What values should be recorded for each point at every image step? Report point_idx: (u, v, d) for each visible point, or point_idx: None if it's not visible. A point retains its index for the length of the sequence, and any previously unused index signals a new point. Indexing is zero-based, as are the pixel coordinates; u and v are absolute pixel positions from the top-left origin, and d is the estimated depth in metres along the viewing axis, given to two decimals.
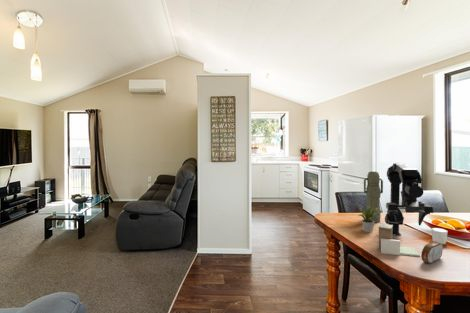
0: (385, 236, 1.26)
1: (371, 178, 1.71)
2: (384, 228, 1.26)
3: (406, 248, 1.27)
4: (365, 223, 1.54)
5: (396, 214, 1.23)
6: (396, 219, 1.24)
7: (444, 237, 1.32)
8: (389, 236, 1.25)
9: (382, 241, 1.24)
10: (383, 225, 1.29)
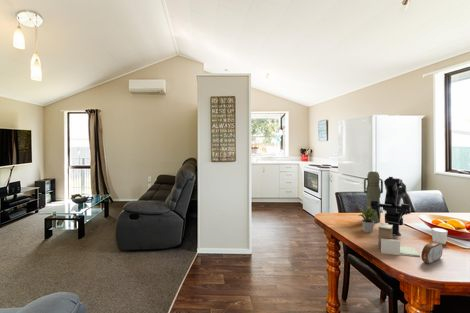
0: (385, 236, 1.26)
1: (371, 178, 1.71)
2: (384, 228, 1.26)
3: (406, 248, 1.27)
4: (365, 223, 1.54)
5: None
6: (400, 218, 1.32)
7: (444, 237, 1.32)
8: (389, 236, 1.25)
9: (382, 241, 1.24)
10: (383, 225, 1.29)
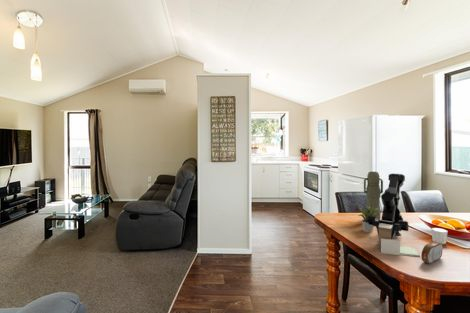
0: (385, 236, 1.26)
1: (371, 178, 1.71)
2: (384, 228, 1.26)
3: (406, 248, 1.27)
4: (365, 223, 1.54)
5: None
6: None
7: (444, 237, 1.32)
8: (389, 236, 1.25)
9: (382, 241, 1.24)
10: (383, 225, 1.29)
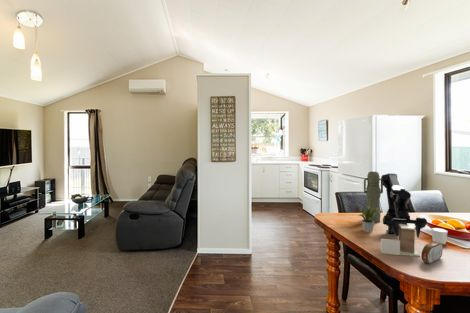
0: (408, 237, 1.22)
1: (371, 178, 1.71)
2: (408, 229, 1.22)
3: None
4: (365, 223, 1.54)
5: None
6: (418, 234, 1.23)
7: (444, 237, 1.32)
8: (413, 237, 1.21)
9: (382, 241, 1.24)
10: (404, 225, 1.25)
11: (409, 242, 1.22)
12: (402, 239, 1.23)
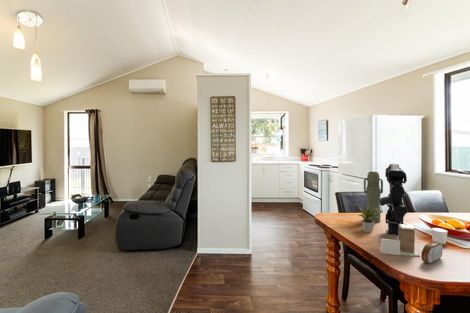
0: (408, 237, 1.22)
1: (371, 178, 1.71)
2: (408, 229, 1.22)
3: None
4: (365, 223, 1.54)
5: (390, 209, 1.39)
6: (391, 213, 1.39)
7: (444, 237, 1.32)
8: (413, 237, 1.21)
9: (382, 241, 1.24)
10: (404, 225, 1.25)
11: (409, 242, 1.22)
12: (402, 239, 1.23)
